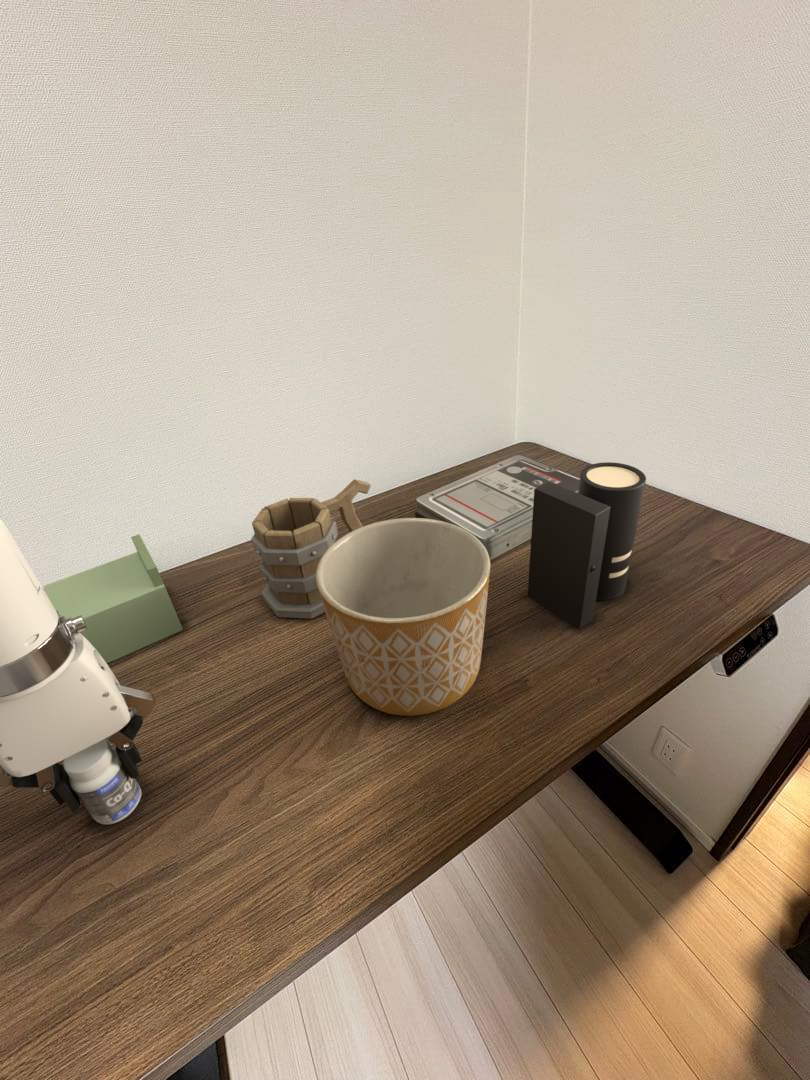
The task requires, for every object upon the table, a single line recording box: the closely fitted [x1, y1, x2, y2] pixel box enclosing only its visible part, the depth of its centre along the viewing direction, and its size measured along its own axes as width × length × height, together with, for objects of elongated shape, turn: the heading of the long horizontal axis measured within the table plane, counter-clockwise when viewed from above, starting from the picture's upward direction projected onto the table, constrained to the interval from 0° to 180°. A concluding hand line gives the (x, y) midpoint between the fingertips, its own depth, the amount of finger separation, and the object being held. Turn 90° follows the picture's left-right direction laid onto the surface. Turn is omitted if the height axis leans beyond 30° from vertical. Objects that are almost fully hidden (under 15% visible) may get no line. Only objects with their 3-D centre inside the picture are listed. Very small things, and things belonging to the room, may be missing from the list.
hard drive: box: [414, 454, 580, 561], centre depth 96 cm, size 18×27×4 cm
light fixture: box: [526, 461, 647, 630], centre depth 72 cm, size 10×14×18 cm
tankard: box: [250, 478, 372, 620], centre depth 80 cm, size 20×13×15 cm, turn 126°
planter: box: [316, 517, 491, 717], centre depth 63 cm, size 19×19×16 cm
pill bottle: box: [62, 739, 142, 825], centre depth 53 cm, size 5×5×8 cm
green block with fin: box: [43, 534, 184, 664], centre depth 75 cm, size 14×12×11 cm
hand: (104, 782), depth 53 cm, fingers closed on pill bottle, 4 cm apart
